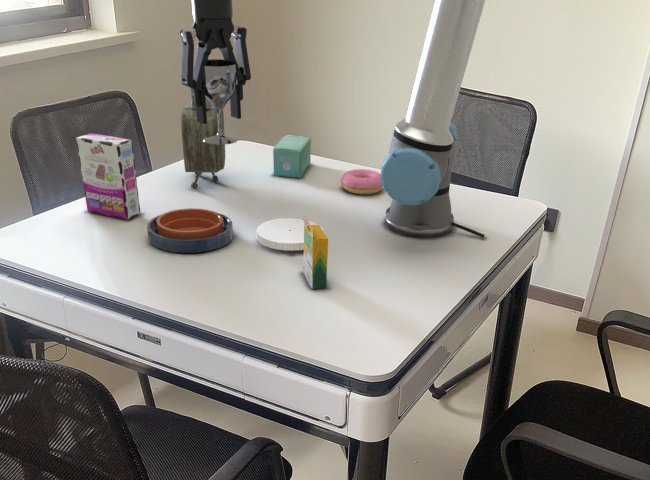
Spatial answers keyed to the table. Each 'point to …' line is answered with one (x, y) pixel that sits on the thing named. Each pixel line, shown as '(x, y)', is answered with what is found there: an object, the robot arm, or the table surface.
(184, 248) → the serving bowl
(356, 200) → the table surface
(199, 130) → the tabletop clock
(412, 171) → the robot arm
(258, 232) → the plastic lid
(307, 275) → the crayon box
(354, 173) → the doughnut
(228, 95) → the wine glass
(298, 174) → the box
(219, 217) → the small bowl
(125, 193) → the candy bar box
